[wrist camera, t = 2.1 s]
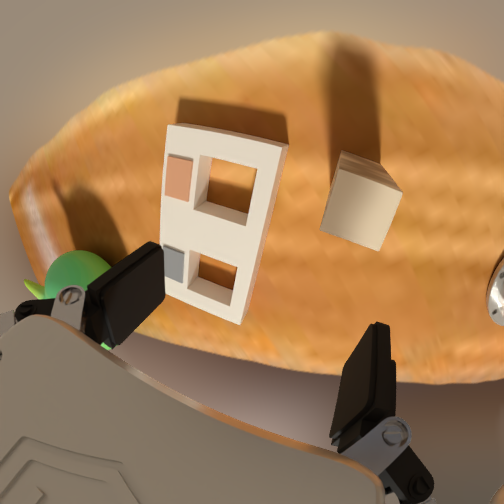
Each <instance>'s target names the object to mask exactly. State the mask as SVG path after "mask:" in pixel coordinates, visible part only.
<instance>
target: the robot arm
mask: <svg viewBox="0 0 504 504" xmlns="http://www.w3.org/2000/svg"><path fill="white" fill-rule="evenodd" d="M164 298H165V270H164V250H163V249H162V247H161V245H159V244H156V243H154V242H151V241H149V242H147V243H146V244H144V245H143V246H141V247H140V248H138V249H137V250H135V251H134V252H133V253H131V254H130V255H128V256H127V257H125V258H124V259H123V260H121V261H120V262H118V263H117V264H116V265H114V266H113V267H111V268H110V269H109V270H107V271H106V272H105V273H103V274H102V275H101V276H99V277H98V278H97V279H95V280H94V281H93V282H91V283H90V284H89V285H87V290H86V291H84V289H83V288H82V287H81V286H78V285H69V286H66V287H64V288H62V289H61V290H60V291H59V292H58V293H57V295H56V298H50V299H38V300H29V301H25V302H23V303H22V304H20V305H19V306H18V307H17V309H16V311H15V312H14V310H11V311H8V312H6V313H3V314H0V504H436V500H435V498H433V499H432V498H431V494H432V491H433V489H434V480H433V477H432V475H431V474H430V473H429V471H428V470H427V469H426V467H425V466H424V465H423V463H422V462H421V461H420V459H419V458H418V457H417V456H416V454H415V453H414V452H413V450H412V449H411V448H410V446H409V443H410V441H411V429H410V427H409V425H408V424H407V423H406V421H404V420H403V419H401V418H399V417H395V411H396V410H395V409H396V362H395V361H394V360H391V342H390V326H389V325H386V324H383V323H380V322H376V323H375V324H370V325H369V327H368V329H367V330H366V332H365V333H364V335H363V337H362V338H361V340H360V342H359V343H358V345H357V346H356V348H355V349H354V351H353V352H352V354H351V355H350V357H349V358H348V360H347V361H346V363H345V365H344V367H343V371H342V376H341V382H340V387H339V393H338V399H337V403H336V408H335V412H334V418H333V421H332V426H331V430H330V434H329V437H330V438H333V439H332V443H331V445H334V446H338V449H337V452H338V453H339V454H338V453H335V452H333V451H329V450H326V449H323V448H319V447H316V446H313V445H309V444H306V443H303V442H299V441H296V440H293V439H290V438H286V437H283V436H281V435H278V434H275V433H272V432H269V431H266V430H263V429H260V428H258V427H255V426H252V425H250V424H247V423H244V422H241V421H239V420H237V419H234V418H232V417H230V416H227V415H225V414H223V413H220V412H218V411H216V410H214V409H211V408H209V407H207V406H205V405H203V404H200V403H198V402H196V401H194V400H192V399H190V398H188V397H186V396H184V395H182V394H180V393H178V392H176V391H175V390H173V389H171V388H169V387H167V386H165V385H163V384H162V383H160V382H158V381H156V380H155V379H153V378H151V377H149V376H147V375H146V374H144V373H142V372H141V371H139V370H137V369H136V368H134V367H133V366H131V365H129V364H128V363H126V362H125V361H123V360H121V359H120V358H118V357H117V356H115V355H114V354H112V353H111V352H109V351H108V350H106V349H105V348H104V347H102V346H101V344H102V343H103V342H104V344H105V345H107V346H108V347H110V348H111V349H113V348H114V347H115V346H116V345H120V344H121V343H122V342H123V341H124V340H125V339H126V338H127V337H128V336H129V335H130V334H131V333H132V332H133V331H134V330H135V329H136V328H137V327H138V326H139V325H140V324H141V323H142V322H143V321H144V320H145V319H146V318H147V317H148V316H149V315H150V314H151V313H152V312H153V311H154V310H155V309H156V308H157V307H158V306H159V305H160V304H161V303H162V302H163V300H164ZM486 304H487V310H488V312H489V314H490V317H491V318H492V320H493V321H494V322H495V323H496V324H498V325H501V326H504V258H503V259H502V261H501V262H500V263H499V265H498V267H497V268H496V270H495V272H494V274H493V276H492V278H491V280H490V284H489V287H488V291H487V296H486ZM489 504H504V484H503V485H502V486H501V487H500V488H499V489H498V490H497V492H496V493H495V494H494V496H493V497H492V499H491V501H490V502H489Z"/></svg>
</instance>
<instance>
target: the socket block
mask: <svg viewBox="0 0 504 504" xmlns="http://www.w3.org/2000/svg"><path fill="white" fill-rule="evenodd" d="M288 146H289V145H288V144H285V143H281V142H277V141H273V140H269V139H265V138H261V137H256V136H252V135H247V134H243V133H238V132H233V131H228V130H223V129H218V128H212V127H206V126H200V125H194V124H188V123H178V124H169V125H168V127H167V136H166V145H165V155H164V166H163V179H162V195H161V217H160V245H161V247H162V249H163V250H164V270H165V293H166V294H168V295H170V296H172V297H174V298H177V299H179V300H181V301H183V302H186V303H188V304H190V305H192V306H195V307H197V308H199V309H202V310H204V311H206V312H209V313H211V314H213V315H216V316H218V317H221V318H223V319H226V320H228V321H231V322H233V323H236V324H238V325H240V324H241V323H242V321H243V319H244V317H245V315H246V313H247V312H248V308H249V305H250V301H251V297H252V293H253V289H254V285H255V281H256V277H257V273H258V269H259V265H260V261H261V257H262V253H263V249H264V245H265V241H266V237H267V233H268V229H269V225H270V221H271V217H272V213H273V209H274V204H275V200H276V196H277V192H278V188H279V184H280V180H281V176H282V171H283V167H284V163H285V159H286V155H287V151H288ZM212 158H217V159H221V160H225V161H229V162H233V163H237V164H241V165H245V166H249V167H253V168H257V174H256V179H255V184H254V189H253V194H252V198H251V203H250V208H249V213H248V214H247V213H243V212H240V211H237V210H234V209H231V208H227V207H224V206H221V205H217V204H214V203H211V202H208V201H206V200H207V193H208V185H209V178H210V171H211V164H212ZM200 253H201V254H204V255H206V256H209V257H212V258H214V259H217V260H220V261H222V262H225V263H228V264H231V265H233V266H236V267H238V268H237V273H236V278H235V283H234V288H233V290H231V289H228V288H225V287H223V286H220V285H218V284H215V283H213V282H210V281H208V280H205V279H203V278H200V277H198V272H199V262H200Z"/></svg>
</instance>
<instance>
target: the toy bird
mask: <svg viewBox="0 0 504 504" xmlns="http://www.w3.org/2000/svg"><path fill="white" fill-rule="evenodd" d="M110 268H111V266H110V265H109V264H108V263H107V262H106V261H105V260H103V259H102V258H101V257H99V256H98V255H96V254H94V253H91V252H88V251H84V250H75V251H70V252H67V253H65V254H63V255H61V256H60V257H58V258H57V259H56V260H55V261H54V262H53V263H52V265H51V266H50V268H49V270H48V272H47V275H46V279H45V287H44V286H41V285H39V284H37V283H34V282H32V281H30V280H27V279H24V283H25V285H26V286H27V288H28V289H29V290H30V291H31V292H32V293H33V294H34V295H35V296H36V297H37V298H38V299H50V298H56V295H57V293H58V292H59V291H60V290H61V289H62V288H64V287H66V286H69V285H78V286H81V287H82V288H83V289H84V291H86V290H87V285H89V284H90V283H91V282H93V281H94V280H95V279H97V278H98V277H99V276H101V275H102V274H103V273H105V272H106V271H107V270H109V269H110ZM101 346H102V347H104V348H105V349H106V350H109V349H111V348H110V347H108V346H107V345H105V344H104V342H103V343H102V344H101ZM116 346H117V345H116Z"/></svg>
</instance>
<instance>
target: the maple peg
mask: <svg viewBox="0 0 504 504" xmlns="http://www.w3.org/2000/svg"><path fill="white" fill-rule="evenodd" d="M402 194H403V192H402V191H401V190H400V188H399V187H398V186H397V184H396V183H395V182H394V180H393V179H392V178H391V176H390V175H389V174H388V173H387V171H386V170H385V169H384V168H383V166H382V165H381V164H379V163H377V162H374V161H372V160H369V159H366V158H363V157H361V156H358V155H355V154H352V153H349V152H346V151H343V150H341V153H340V156H339V160H338V163H337V167H336V170H335V174H334V177H333V180H332V184H331V187H330V191H329V195H328V199H327V203H326V207H325V211H324V215H323V219H322V223H321V226H320V231H323V232H326V233H329V234H332V235H335V236H337V237H340V238H343V239H346V240H349V241H351V242H354V243H357V244H360V245H362V246H365V247H368V248H371V249H373V250H376V251H379V250H380V248H381V245H382V243H383V241H384V239H385V236H386V234H387V232H388V229H389V227H390V225H391V222H392V220H393V217H394V215H395V212H396V210H397V207H398V205H399V202H400V199H401V197H402Z"/></svg>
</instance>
